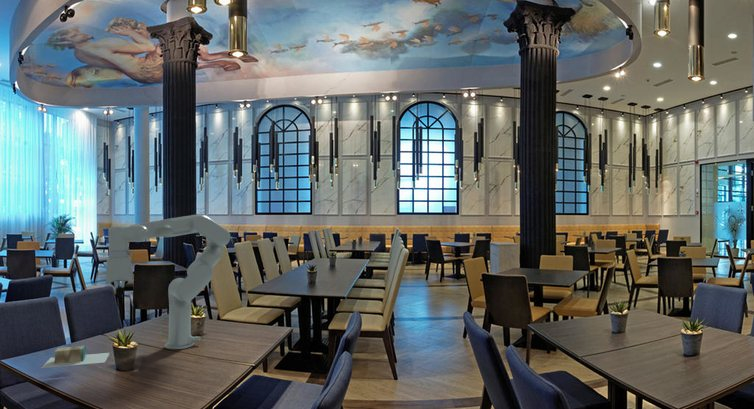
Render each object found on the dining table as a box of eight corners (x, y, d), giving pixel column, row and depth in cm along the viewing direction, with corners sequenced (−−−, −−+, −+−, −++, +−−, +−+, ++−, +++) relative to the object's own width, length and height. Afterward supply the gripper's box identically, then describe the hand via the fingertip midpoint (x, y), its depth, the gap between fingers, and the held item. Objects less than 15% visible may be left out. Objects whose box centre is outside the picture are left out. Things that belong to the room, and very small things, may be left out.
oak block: (85, 345, 202) (57, 347, 198) (83, 349, 197) (54, 351, 194) (85, 357, 202) (57, 360, 198) (83, 361, 197) (54, 363, 194)
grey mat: (110, 354, 209) (110, 352, 209) (104, 364, 196) (104, 362, 196) (50, 359, 201) (50, 357, 201) (41, 370, 188) (41, 368, 188)
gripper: (138, 252, 215) (139, 293, 216) (100, 254, 209) (101, 296, 210) (137, 254, 208) (138, 296, 209) (98, 256, 202) (99, 299, 203)
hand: (120, 296), depth 209 cm, fingers closed
